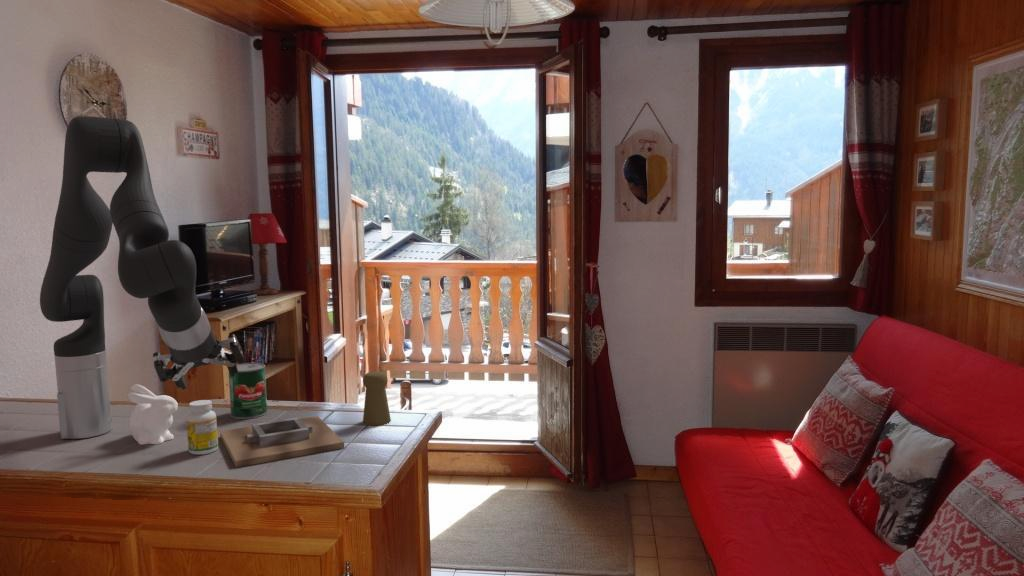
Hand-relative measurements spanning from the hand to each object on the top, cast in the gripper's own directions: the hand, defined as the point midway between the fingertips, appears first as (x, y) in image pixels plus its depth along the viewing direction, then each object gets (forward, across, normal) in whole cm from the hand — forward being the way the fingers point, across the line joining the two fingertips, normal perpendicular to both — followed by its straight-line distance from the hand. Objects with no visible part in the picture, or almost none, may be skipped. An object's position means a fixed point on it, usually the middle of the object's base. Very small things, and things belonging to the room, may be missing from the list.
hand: (208, 378), depth 134 cm
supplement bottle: (+15, +5, +6) cm, 17 cm away
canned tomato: (+32, -3, -9) cm, 33 cm away
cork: (+24, -29, +6) cm, 38 cm away
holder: (+16, -9, +8) cm, 20 cm away
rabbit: (+21, +15, -2) cm, 26 cm away
